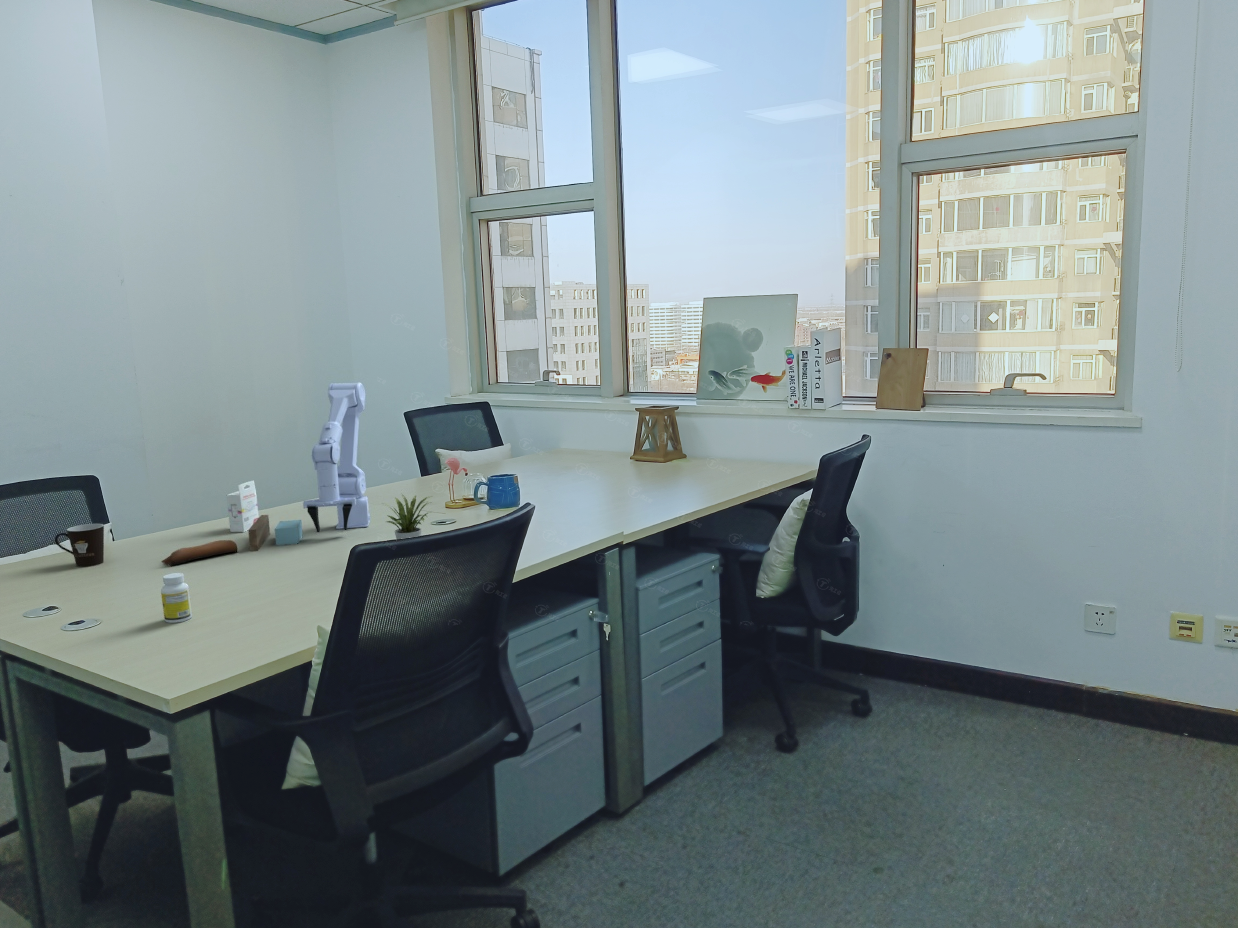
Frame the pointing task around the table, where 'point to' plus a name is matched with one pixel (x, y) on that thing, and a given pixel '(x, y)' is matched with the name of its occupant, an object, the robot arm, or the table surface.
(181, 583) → the supplement bottle
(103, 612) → the table surface
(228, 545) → the sweet potato
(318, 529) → the robot arm
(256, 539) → the walnut board
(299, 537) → the teal block
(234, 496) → the ink cartridge box
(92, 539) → the coffee mug
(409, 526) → the house plant
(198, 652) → the table surface
